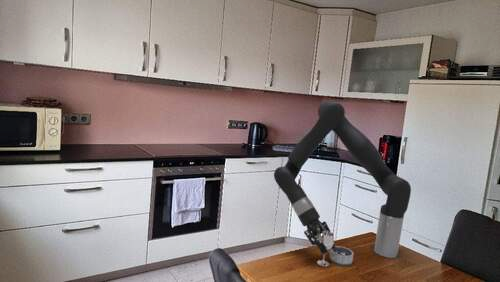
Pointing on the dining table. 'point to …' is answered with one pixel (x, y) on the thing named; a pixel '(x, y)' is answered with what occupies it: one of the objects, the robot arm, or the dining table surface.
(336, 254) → the grey bowl
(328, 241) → the wineglass
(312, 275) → the dining table surface
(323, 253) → the robot arm
